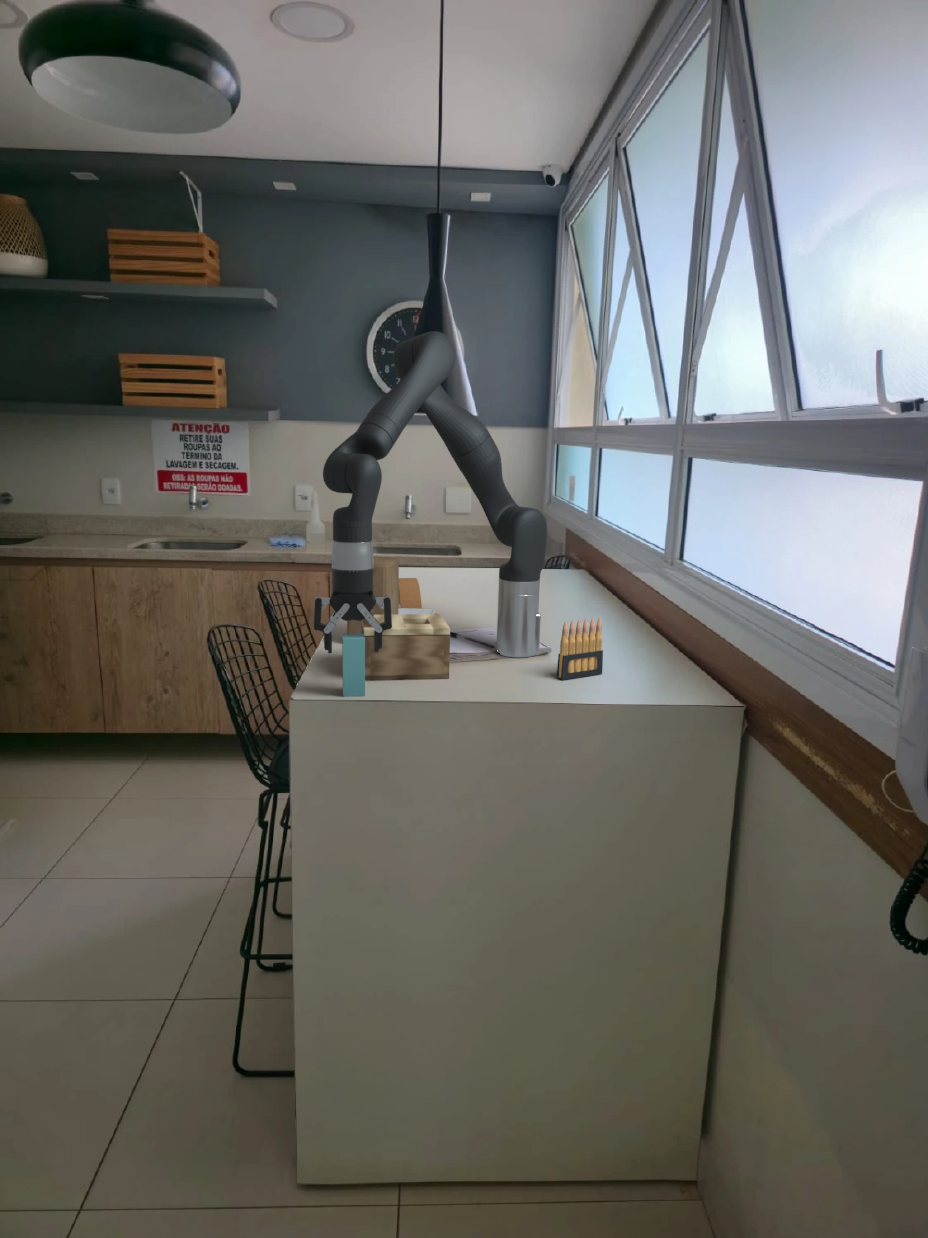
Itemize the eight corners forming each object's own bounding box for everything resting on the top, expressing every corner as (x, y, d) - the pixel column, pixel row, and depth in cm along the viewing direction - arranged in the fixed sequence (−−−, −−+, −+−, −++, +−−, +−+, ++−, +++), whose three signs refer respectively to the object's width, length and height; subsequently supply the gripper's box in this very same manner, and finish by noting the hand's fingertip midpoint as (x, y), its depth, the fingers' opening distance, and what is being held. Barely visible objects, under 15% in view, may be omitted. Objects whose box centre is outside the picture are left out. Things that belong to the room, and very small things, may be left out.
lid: (440, 619, 173) (440, 600, 172) (450, 634, 159) (450, 613, 158) (361, 620, 170) (361, 600, 169) (364, 635, 156) (364, 614, 155)
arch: (400, 621, 212) (400, 584, 210) (391, 606, 231) (391, 572, 229) (421, 621, 213) (422, 584, 211) (411, 606, 233) (411, 572, 230)
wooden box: (439, 660, 174) (440, 620, 173) (449, 678, 161) (450, 635, 159) (361, 662, 172) (361, 621, 170) (364, 680, 158) (364, 636, 156)
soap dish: (438, 627, 207) (438, 608, 206) (434, 636, 197) (434, 616, 196) (391, 625, 208) (391, 606, 206) (384, 634, 198) (384, 614, 197)
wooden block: (387, 649, 183) (387, 562, 179) (345, 646, 185) (345, 560, 180) (399, 639, 192) (399, 557, 188) (359, 636, 194) (359, 555, 190)
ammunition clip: (561, 680, 162) (564, 622, 160) (556, 677, 164) (559, 620, 161) (602, 673, 168) (606, 618, 165) (596, 671, 169) (600, 616, 167)
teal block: (363, 689, 152) (363, 633, 150) (365, 696, 149) (364, 638, 146) (342, 690, 152) (342, 634, 149) (343, 696, 148) (342, 639, 146)
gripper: (390, 562, 150) (389, 646, 153) (313, 562, 147) (314, 647, 151) (393, 568, 142) (393, 656, 146) (312, 568, 140) (313, 657, 143)
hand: (353, 651), depth 148 cm, fingers open, 8 cm apart
